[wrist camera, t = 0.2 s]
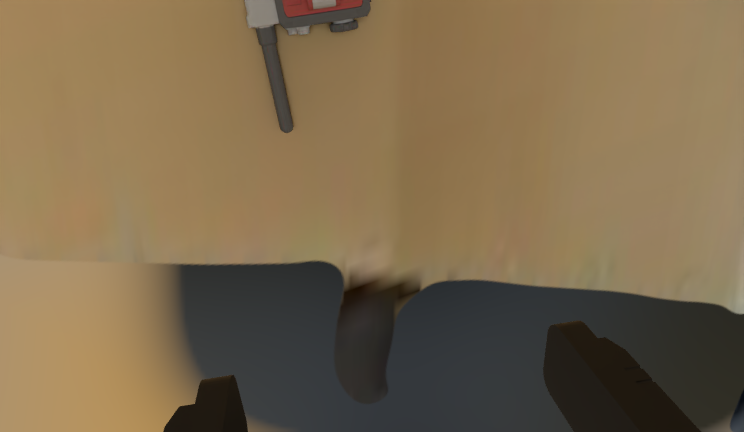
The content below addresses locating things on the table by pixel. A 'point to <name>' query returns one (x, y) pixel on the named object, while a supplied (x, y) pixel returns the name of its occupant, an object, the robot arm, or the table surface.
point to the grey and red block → (296, 13)
